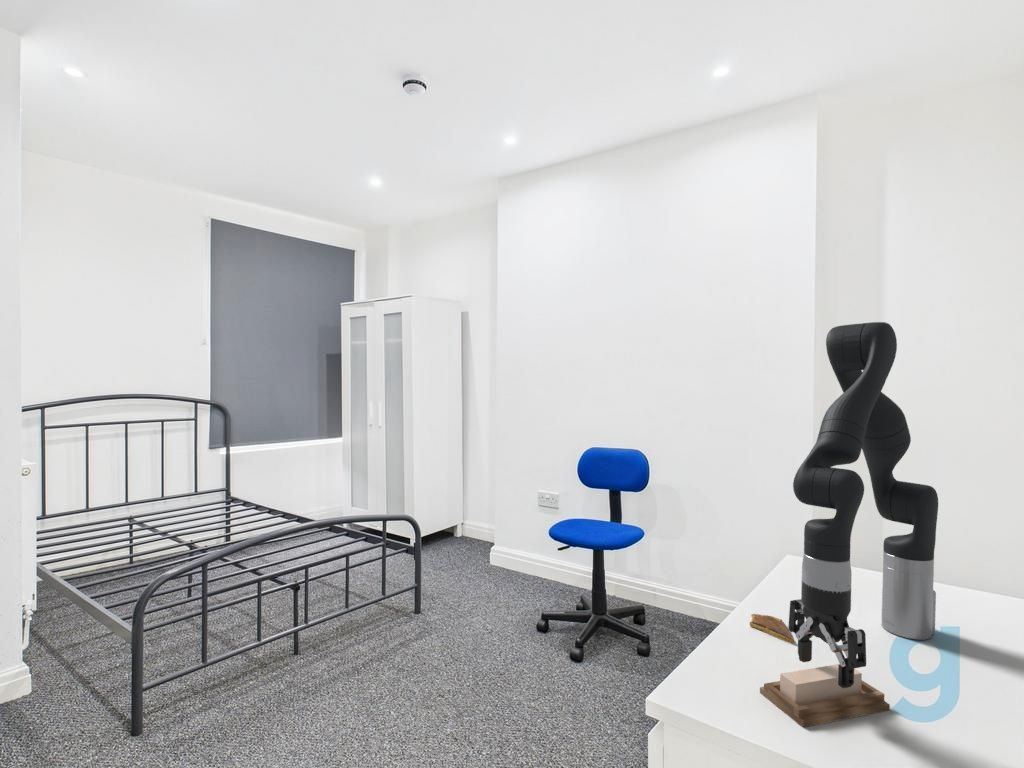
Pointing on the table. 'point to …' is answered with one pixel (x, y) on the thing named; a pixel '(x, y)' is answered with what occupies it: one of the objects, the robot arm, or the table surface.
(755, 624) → the shard
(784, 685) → the beige rectangular block
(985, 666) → the table surface
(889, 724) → the table surface
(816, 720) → the brown wooden tray
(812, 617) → the robot arm
